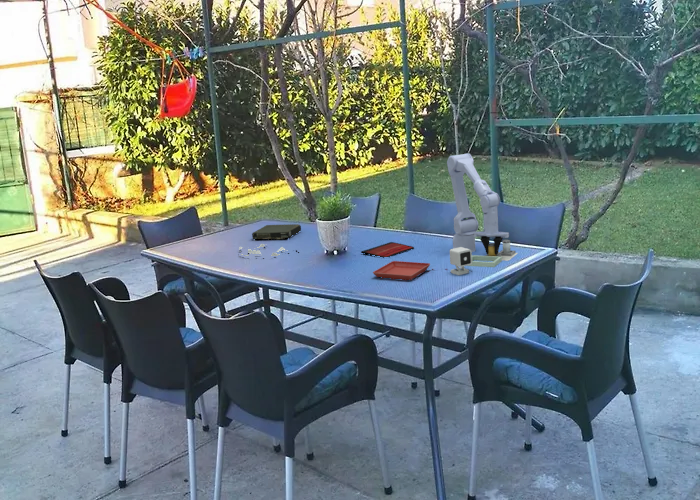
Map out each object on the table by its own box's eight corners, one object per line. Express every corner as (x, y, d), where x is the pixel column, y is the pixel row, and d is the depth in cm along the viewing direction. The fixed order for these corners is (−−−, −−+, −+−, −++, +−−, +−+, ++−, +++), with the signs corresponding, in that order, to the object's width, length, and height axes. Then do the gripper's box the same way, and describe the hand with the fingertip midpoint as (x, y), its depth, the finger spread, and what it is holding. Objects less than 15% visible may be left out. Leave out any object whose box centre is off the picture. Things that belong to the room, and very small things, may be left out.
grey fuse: (501, 255, 298) (501, 241, 296) (504, 253, 301) (503, 239, 299) (509, 255, 296) (508, 241, 295) (511, 253, 299) (511, 239, 298)
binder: (360, 250, 326) (390, 241, 340) (361, 255, 326) (390, 245, 340) (386, 256, 314) (416, 246, 329) (386, 261, 315) (416, 250, 329)
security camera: (459, 276, 276) (458, 252, 274) (449, 273, 282) (448, 249, 280) (472, 273, 279) (471, 249, 276) (462, 270, 285) (461, 246, 283)
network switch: (250, 242, 376) (249, 233, 375) (263, 233, 399) (262, 224, 398) (292, 240, 372) (291, 231, 371) (302, 231, 395) (301, 222, 393)
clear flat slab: (305, 252, 343) (304, 245, 342) (266, 263, 327) (265, 256, 327) (262, 245, 368) (261, 238, 368) (224, 255, 353) (223, 248, 352)
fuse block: (481, 261, 294) (480, 256, 294) (491, 254, 305) (491, 249, 305) (508, 263, 288) (508, 258, 288) (518, 255, 299) (517, 250, 299)
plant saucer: (411, 283, 274) (411, 275, 273) (372, 279, 284) (371, 272, 283) (431, 270, 289) (431, 263, 288) (393, 268, 298) (392, 260, 298)
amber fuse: (487, 258, 294) (486, 244, 293) (489, 256, 297) (489, 243, 295) (494, 259, 292) (494, 245, 291) (497, 257, 295) (496, 243, 294)
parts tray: (463, 268, 287) (463, 261, 286) (472, 262, 295) (472, 255, 295) (494, 270, 280) (494, 262, 280) (502, 263, 289) (501, 256, 288)
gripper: (471, 223, 291) (472, 255, 295) (504, 224, 284) (506, 256, 287) (476, 220, 297) (478, 251, 300) (510, 221, 290) (511, 252, 293)
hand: (492, 253), depth 294 cm, fingers closed on amber fuse, 3 cm apart
